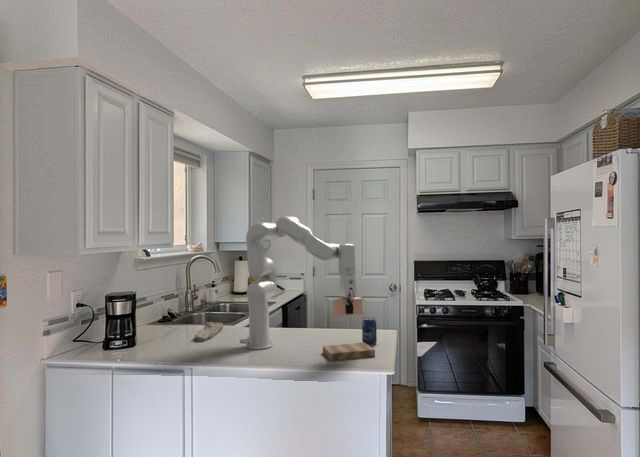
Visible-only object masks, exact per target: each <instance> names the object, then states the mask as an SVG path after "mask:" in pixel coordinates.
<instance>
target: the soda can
mask: <svg viewBox="0 0 640 457" xmlns="http://www.w3.org/2000/svg"><path fill="white" fill-rule="evenodd" d="M361 331H362V334H361V335H362V336H361V338H362V339H361V340H362V343H366V344H367V345H369V346H374V345H376V343H377V340H378V339H377V338H378V337H377V334H378V333H377V331H378V330H377V321H376V318H375V317H363V320H362V321H361Z"/></svg>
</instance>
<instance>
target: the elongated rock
mask: <svg viewBox="0 0 640 457" xmlns="http://www.w3.org/2000/svg"><path fill="white" fill-rule="evenodd" d="M223 328H224V324H223V323H222V322H213V321H210V322H208V321H207V322H205V323H204V327H203V329H201V330H200V331H199V332H198V333H196V334H195V335H194V338H193V339H194V341H195V342H198V343H204V342H206V341H208V340H210V339H212V338H213V337H214V336H216V335H218V333H220V332H221V331H222V330H223Z"/></svg>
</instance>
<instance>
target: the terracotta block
mask: <svg viewBox="0 0 640 457" xmlns="http://www.w3.org/2000/svg"><path fill="white" fill-rule="evenodd" d="M332 301H333V302H332V305H333V306H332V308H333V309H332V310H333V312H332V313H333V315H334V316H335V317H346V316H361V315H363V298H361V297H360V296H359V297H357V296H356V297H355V298H354V300H353V314H346V305H347V303H346V298H342V297H341V298H340V297H339V298H333V300H332ZM348 301H349V299H348Z"/></svg>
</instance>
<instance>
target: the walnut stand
mask: <svg viewBox="0 0 640 457" xmlns="http://www.w3.org/2000/svg"><path fill="white" fill-rule="evenodd" d="M322 354H323V355H324V356H325V357H326V358H328V359H329V361H330V362H334V361H335V362H336V361H343V360H355V359H364V358H374V357H376V350H375V349H374V348H373V347H371V345H367V344H366V343H363V342H356V343H355V342H353V343H343V344H331V345H323V346H322Z"/></svg>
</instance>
